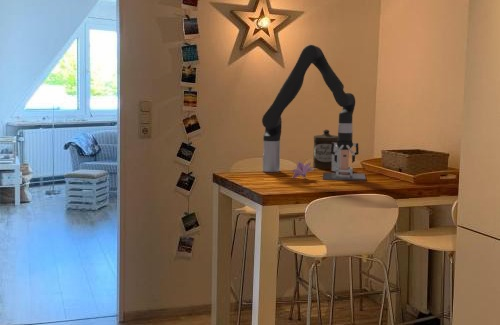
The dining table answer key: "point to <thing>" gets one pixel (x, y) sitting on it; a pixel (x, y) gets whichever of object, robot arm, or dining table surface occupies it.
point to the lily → (302, 170)
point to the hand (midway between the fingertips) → (344, 162)
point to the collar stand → (344, 177)
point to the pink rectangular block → (344, 161)
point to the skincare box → (338, 163)
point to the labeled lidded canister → (323, 150)
